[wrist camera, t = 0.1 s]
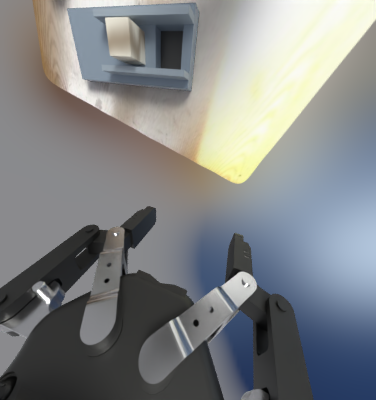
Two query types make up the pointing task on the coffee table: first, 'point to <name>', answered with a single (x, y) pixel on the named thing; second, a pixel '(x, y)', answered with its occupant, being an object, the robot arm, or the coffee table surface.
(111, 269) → the robot arm
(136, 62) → the cream block
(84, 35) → the blue channel base
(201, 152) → the coffee table surface
